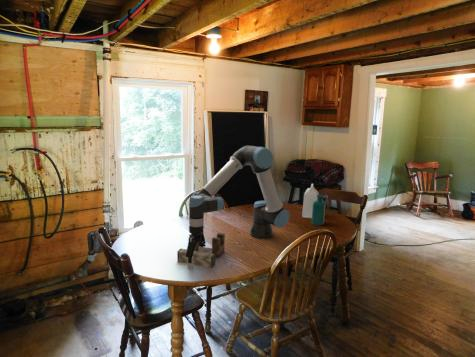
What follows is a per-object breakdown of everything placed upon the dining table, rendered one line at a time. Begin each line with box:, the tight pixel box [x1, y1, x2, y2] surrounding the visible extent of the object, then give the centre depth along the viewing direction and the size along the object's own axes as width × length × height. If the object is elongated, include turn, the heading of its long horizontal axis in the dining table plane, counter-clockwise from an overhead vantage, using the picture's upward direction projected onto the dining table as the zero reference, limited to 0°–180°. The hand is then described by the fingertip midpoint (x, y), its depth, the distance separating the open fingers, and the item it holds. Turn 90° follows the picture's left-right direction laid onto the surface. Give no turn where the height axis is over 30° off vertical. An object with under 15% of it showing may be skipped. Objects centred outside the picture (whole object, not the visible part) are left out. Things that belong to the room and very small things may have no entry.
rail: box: [176, 248, 216, 269], centre depth 178 cm, size 20×4×6 cm, turn 73°
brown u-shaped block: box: [188, 232, 226, 259], centre depth 192 cm, size 18×10×11 cm, turn 73°
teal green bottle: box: [311, 194, 329, 226], centre depth 247 cm, size 10×8×22 cm
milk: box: [301, 183, 320, 219], centre depth 266 cm, size 12×12×26 cm
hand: (196, 262), depth 179 cm, fingers open, 13 cm apart
